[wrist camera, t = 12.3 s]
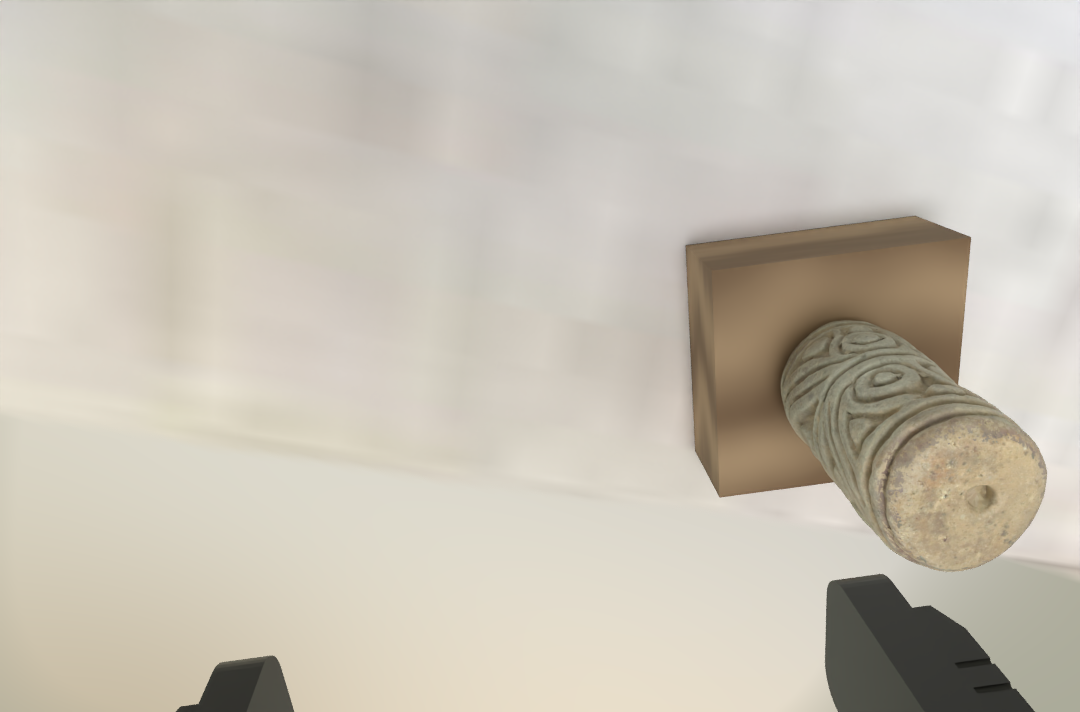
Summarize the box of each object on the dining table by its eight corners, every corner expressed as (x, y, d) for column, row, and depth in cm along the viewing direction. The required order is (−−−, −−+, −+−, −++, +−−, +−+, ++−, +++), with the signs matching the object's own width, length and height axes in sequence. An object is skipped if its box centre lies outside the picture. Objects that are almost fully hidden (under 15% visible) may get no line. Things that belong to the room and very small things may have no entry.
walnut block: (685, 245, 40) (711, 270, 36) (915, 216, 41) (970, 237, 36) (695, 451, 45) (719, 497, 40) (902, 423, 45) (950, 466, 40)
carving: (850, 275, 36) (1013, 374, 25) (924, 391, 39) (1102, 530, 27) (735, 356, 37) (842, 485, 26) (814, 464, 40) (942, 625, 29)
